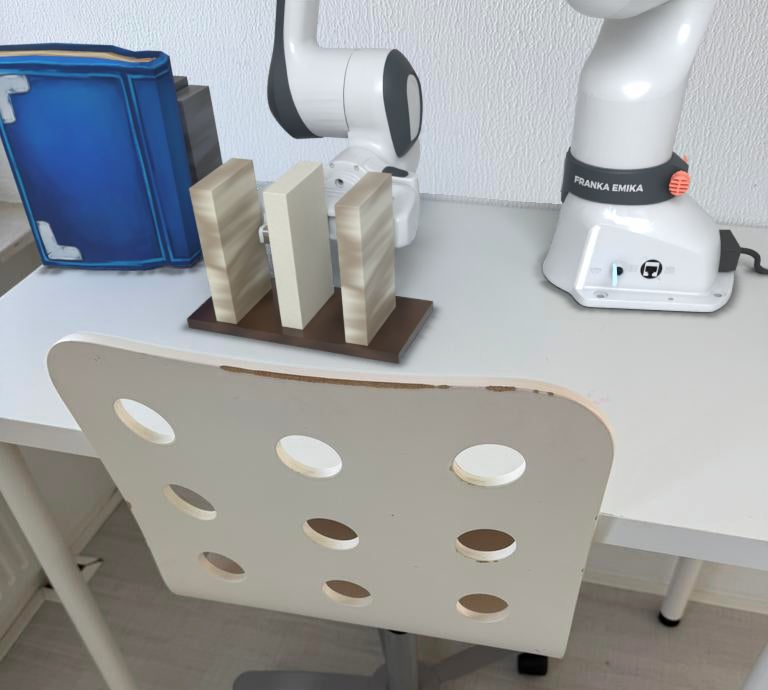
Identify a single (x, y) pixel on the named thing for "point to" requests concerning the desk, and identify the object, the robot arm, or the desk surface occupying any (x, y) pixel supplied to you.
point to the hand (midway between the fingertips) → (303, 242)
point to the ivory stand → (258, 290)
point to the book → (98, 155)
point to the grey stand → (198, 128)
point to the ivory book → (300, 242)
